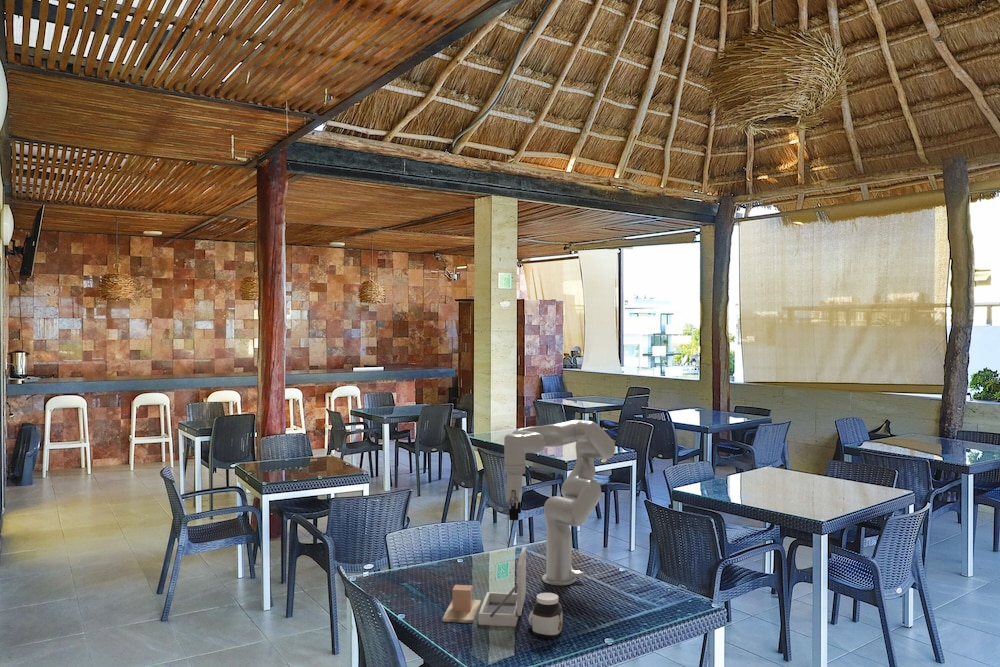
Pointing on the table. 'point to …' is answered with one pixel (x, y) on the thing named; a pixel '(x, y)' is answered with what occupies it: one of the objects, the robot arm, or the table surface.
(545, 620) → the spread jar
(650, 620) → the table surface
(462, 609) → the block
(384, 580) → the table surface
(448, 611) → the oak board
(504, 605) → the case
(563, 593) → the table surface
